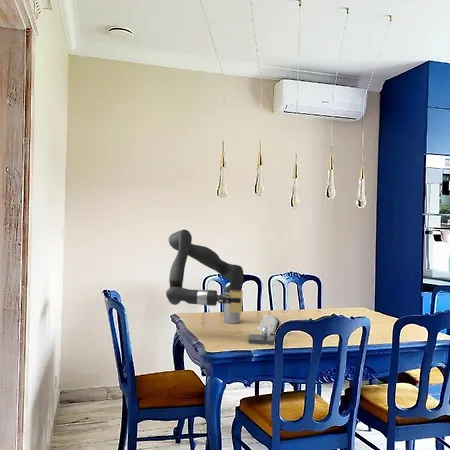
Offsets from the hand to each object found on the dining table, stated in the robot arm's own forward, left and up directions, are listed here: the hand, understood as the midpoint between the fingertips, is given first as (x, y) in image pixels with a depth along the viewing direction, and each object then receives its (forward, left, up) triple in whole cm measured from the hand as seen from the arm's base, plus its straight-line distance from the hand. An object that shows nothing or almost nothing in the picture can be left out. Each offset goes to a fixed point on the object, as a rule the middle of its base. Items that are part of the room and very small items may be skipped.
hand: (240, 299), depth 232 cm
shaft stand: (0, +12, -20) cm, 23 cm away
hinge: (-22, +15, -20) cm, 33 cm away
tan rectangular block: (0, -2, -6) cm, 6 cm away
